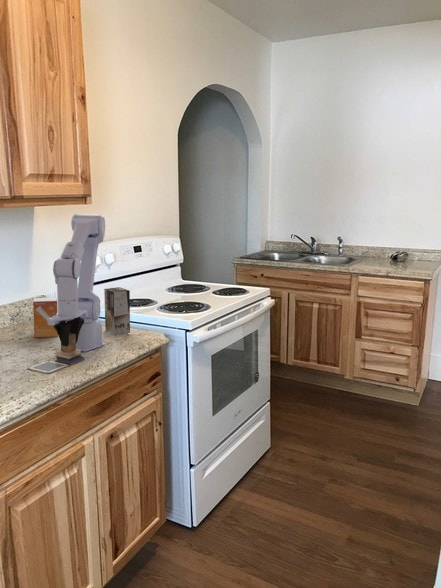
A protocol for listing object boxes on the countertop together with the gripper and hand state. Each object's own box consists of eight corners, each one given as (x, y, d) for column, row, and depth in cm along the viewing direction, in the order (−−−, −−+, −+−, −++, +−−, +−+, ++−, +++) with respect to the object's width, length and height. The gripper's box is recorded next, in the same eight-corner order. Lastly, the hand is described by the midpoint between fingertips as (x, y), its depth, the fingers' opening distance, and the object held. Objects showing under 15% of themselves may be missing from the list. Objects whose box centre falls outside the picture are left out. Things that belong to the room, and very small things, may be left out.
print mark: (48, 361, 148) (48, 360, 148) (69, 365, 144) (69, 364, 144) (27, 369, 141) (27, 368, 141) (48, 374, 137) (48, 372, 137)
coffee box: (130, 334, 180) (130, 290, 178) (114, 336, 177) (113, 291, 174) (120, 328, 188) (120, 286, 185) (104, 330, 184) (103, 287, 181)
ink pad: (69, 356, 152) (69, 353, 152) (84, 359, 150) (84, 356, 150) (55, 362, 147) (54, 358, 147) (70, 365, 145) (70, 361, 144)
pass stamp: (68, 353, 152) (67, 331, 150) (80, 356, 150) (80, 333, 148) (56, 357, 147) (55, 334, 146) (68, 360, 145) (68, 337, 144)
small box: (34, 338, 172) (32, 301, 170) (34, 333, 178) (33, 297, 176) (58, 336, 175) (57, 300, 173) (58, 332, 181) (57, 297, 179)
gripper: (75, 294, 153) (76, 336, 156) (38, 301, 140) (40, 348, 143) (92, 296, 150) (93, 340, 153) (57, 304, 137) (59, 351, 140)
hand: (69, 344), depth 148 cm, fingers closed on pass stamp, 3 cm apart
